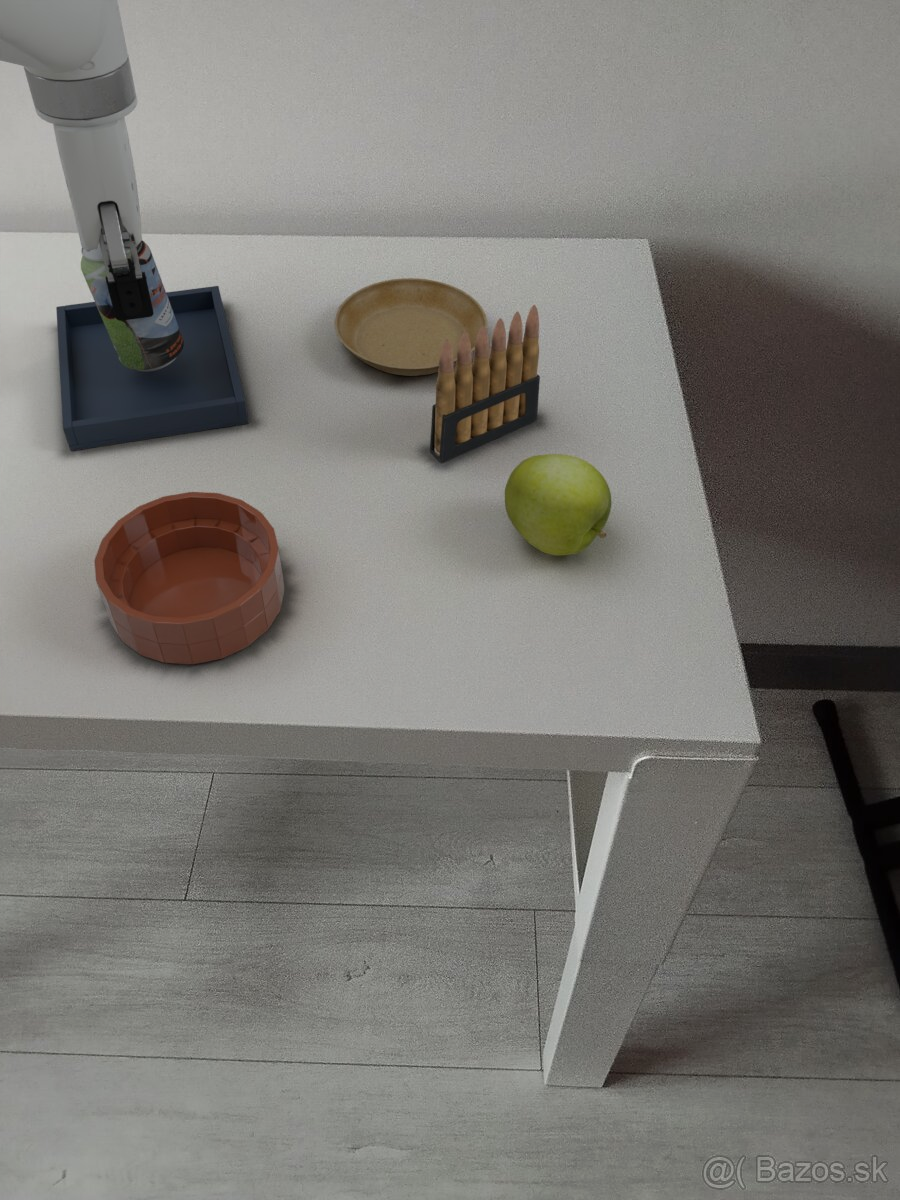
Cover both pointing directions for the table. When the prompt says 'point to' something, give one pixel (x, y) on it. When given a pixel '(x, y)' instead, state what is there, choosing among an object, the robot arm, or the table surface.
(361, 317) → the plant saucer
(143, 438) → the tray
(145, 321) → the beverage can
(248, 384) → the table surface
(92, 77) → the robot arm
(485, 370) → the ammunition clip
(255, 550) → the bowl
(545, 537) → the apple
